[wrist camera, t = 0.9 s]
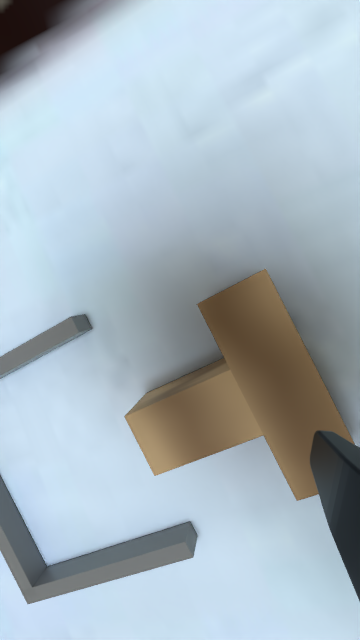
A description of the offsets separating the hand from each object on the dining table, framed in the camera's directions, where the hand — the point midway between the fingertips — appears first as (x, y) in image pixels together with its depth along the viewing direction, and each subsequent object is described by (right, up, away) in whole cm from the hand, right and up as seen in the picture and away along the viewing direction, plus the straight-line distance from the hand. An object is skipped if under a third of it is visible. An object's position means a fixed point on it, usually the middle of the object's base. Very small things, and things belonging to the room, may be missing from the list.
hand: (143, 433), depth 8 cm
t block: (+4, -2, +13) cm, 13 cm away
